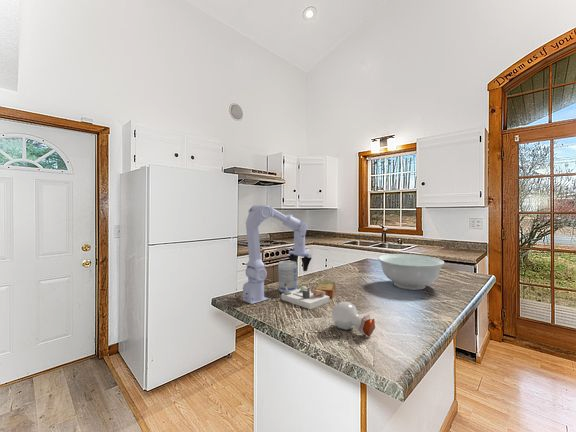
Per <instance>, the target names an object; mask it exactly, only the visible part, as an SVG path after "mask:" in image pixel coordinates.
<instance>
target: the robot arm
mask: <svg viewBox="0 0 576 432" xmlns="http://www.w3.org/2000/svg"><path fill="white" fill-rule="evenodd" d="M247 212H248V215H247V218H246V221H245V227H246V228H245V229H246V240H247V250H248V261H247V262H246V269H245V276H246V277H247V279H248V280H247V282H244V283H243V285H242V299H241V300H242V301H244V302H246V303H249V304H250V305H253V304H256V303H260V302H263V301H267V300H269V298H268V297H267V296H265V280H266V278H267V277H268V276H267V274H268V272H267V269H266V268H265V267H266V266H265V264H264V262H263V260H262V256H261V255H262V253H261V243H260V232H259V226H260V225H261V224H262V223H263V222H265V221H266V220H267V219H269V218H270V217H271V218H274V219H275V220H279V222H282V224H283V226H284V227H288V228H289V229H291V230H292V232H293V250H288V259H289V261H295V262H296V264H297V265H298V258H299V257H301V258H300V259H301V262H302V270H303V272H307V271H308V268H309V265H310V262H311V260H312V253H310V252H307V251H306V234H307V230H308V228H309V227H308V226H309V225H307V223H306V222H305V221H304V220H303V221H302V220H300V219H299V218H296V217H294V215H293V214H286V215H285V214H284V213H282V212H280V211H279V210H276V209H275V208H273V206H269V205H268V204H263V205H260V204H259V205H255V204H254V205H252V206H251V207H250V208H249V209H248V211H247Z"/></svg>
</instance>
